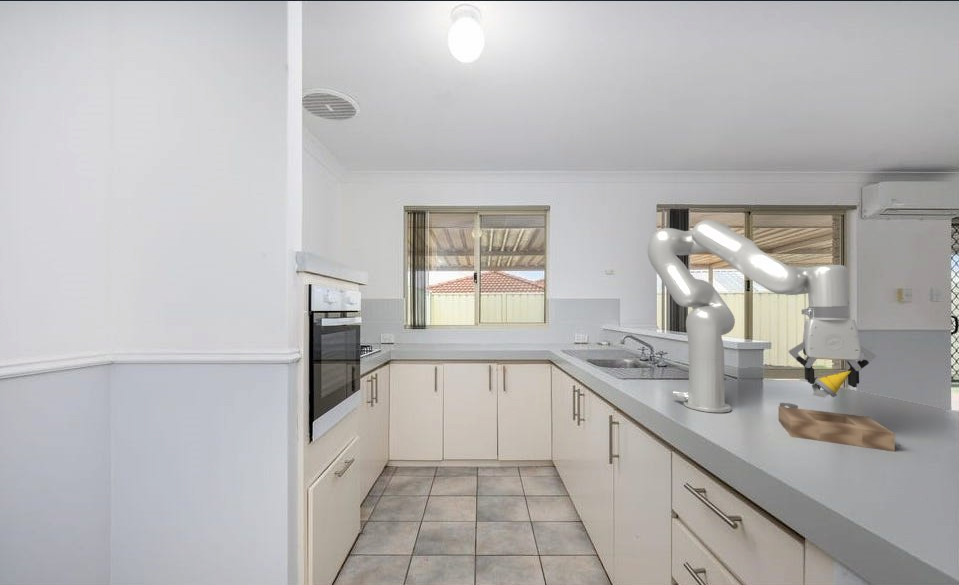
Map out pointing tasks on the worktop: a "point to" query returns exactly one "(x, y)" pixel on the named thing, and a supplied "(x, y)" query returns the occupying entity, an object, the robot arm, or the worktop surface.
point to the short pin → (788, 405)
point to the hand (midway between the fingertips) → (831, 384)
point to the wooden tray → (836, 428)
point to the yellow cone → (829, 384)
